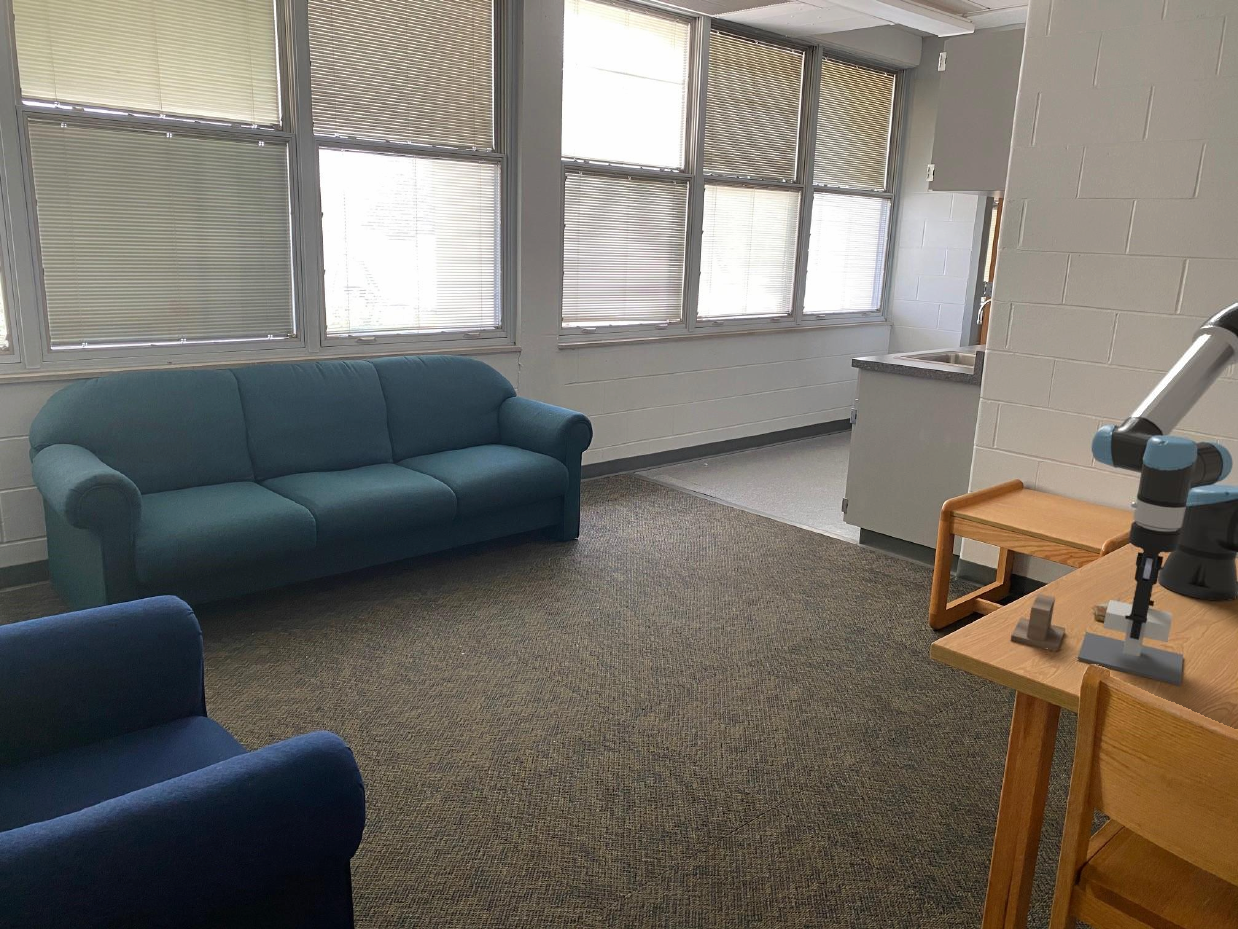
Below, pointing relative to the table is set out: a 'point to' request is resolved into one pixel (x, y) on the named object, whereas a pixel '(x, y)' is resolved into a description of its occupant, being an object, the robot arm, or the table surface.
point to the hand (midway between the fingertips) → (1132, 645)
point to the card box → (1155, 624)
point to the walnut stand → (1039, 626)
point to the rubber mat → (1132, 658)
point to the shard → (1100, 612)
